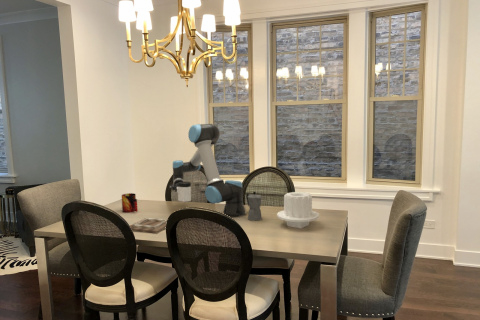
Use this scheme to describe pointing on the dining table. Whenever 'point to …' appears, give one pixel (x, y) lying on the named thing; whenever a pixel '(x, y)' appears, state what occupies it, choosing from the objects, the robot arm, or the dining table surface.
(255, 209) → the coffeepot
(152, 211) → the dining table surface
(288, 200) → the ribbed cylinder on disc
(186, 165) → the robot arm
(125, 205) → the mug
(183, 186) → the jar
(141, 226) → the board
